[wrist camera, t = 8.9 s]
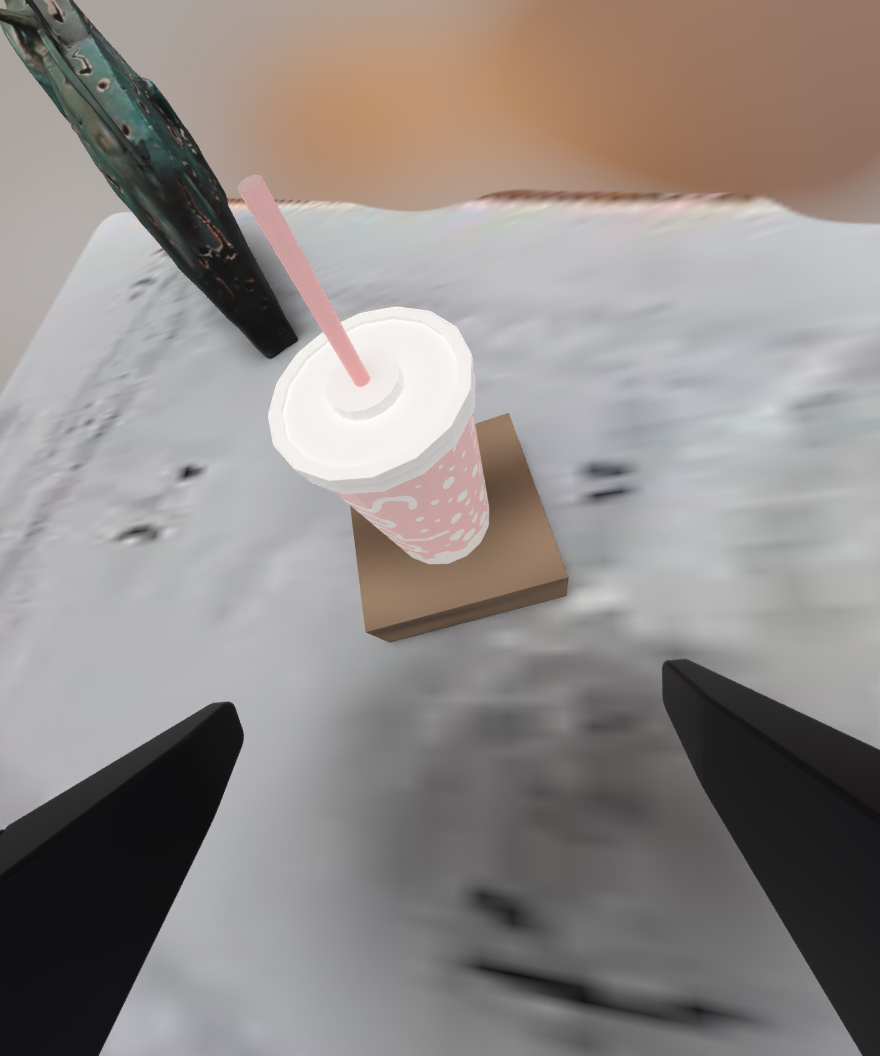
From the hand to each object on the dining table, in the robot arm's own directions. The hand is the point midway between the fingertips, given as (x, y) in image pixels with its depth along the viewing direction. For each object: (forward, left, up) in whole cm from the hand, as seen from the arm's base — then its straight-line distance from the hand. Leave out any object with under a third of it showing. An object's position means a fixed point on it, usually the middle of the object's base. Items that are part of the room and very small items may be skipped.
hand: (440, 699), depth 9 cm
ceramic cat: (+19, +34, -11) cm, 40 cm away
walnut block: (+6, +6, -11) cm, 14 cm away
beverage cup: (+6, +6, -8) cm, 12 cm away
